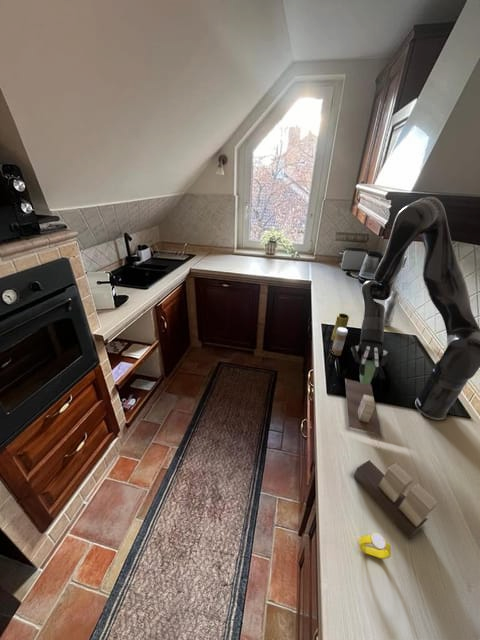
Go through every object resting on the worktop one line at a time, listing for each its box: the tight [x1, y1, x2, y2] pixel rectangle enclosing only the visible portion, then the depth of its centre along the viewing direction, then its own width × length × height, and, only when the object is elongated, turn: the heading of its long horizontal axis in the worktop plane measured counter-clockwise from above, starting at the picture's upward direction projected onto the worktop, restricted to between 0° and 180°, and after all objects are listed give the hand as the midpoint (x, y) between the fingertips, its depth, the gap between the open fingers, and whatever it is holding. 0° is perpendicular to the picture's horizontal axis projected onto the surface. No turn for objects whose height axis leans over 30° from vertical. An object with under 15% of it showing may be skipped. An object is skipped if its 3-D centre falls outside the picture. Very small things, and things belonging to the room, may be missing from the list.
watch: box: [358, 532, 392, 560], centre depth 55 cm, size 6×3×6 cm, turn 72°
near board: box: [344, 378, 382, 436], centre depth 91 cm, size 24×10×9 cm, turn 163°
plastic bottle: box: [384, 290, 401, 327], centre depth 140 cm, size 6×7×20 cm
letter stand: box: [353, 459, 439, 539], centre depth 63 cm, size 5×16×12 cm, turn 28°
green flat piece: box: [359, 359, 375, 385], centre depth 93 cm, size 3×4×8 cm
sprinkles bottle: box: [331, 327, 349, 357], centre depth 117 cm, size 5×5×13 cm
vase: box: [330, 313, 350, 343], centre depth 127 cm, size 6×6×14 cm
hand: (367, 376), depth 91 cm, fingers closed on green flat piece, 3 cm apart
